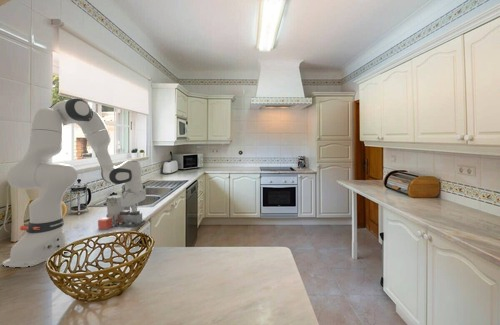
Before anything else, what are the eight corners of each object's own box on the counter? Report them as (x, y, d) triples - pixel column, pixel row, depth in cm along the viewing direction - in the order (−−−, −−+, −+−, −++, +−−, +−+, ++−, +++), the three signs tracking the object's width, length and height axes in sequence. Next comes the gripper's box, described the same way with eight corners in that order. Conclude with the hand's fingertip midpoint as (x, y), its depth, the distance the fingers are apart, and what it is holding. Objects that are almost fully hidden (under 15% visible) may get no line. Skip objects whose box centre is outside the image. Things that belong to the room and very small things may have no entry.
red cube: (106, 229, 142) (106, 219, 141) (98, 228, 142) (97, 219, 142) (112, 226, 147) (112, 217, 146) (104, 225, 147) (103, 217, 147)
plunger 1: (126, 222, 149) (126, 211, 149) (120, 221, 150) (119, 211, 149) (130, 220, 153) (130, 210, 153) (124, 219, 154) (123, 209, 153)
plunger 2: (136, 222, 149) (135, 212, 148) (129, 222, 149) (129, 211, 149) (139, 220, 153) (139, 210, 152) (133, 220, 153) (133, 210, 153)
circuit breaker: (131, 215, 167) (130, 193, 166) (118, 222, 153) (117, 198, 152) (120, 215, 168) (120, 193, 167) (106, 222, 154) (105, 197, 153)
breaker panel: (134, 227, 145) (133, 216, 144) (114, 226, 146) (113, 216, 146) (145, 220, 157) (144, 211, 156) (126, 220, 158) (126, 210, 157)
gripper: (128, 191, 139) (129, 216, 140) (147, 185, 159) (148, 206, 160) (117, 191, 139) (118, 215, 140) (137, 184, 160) (138, 206, 161)
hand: (134, 210), depth 150 cm, fingers closed, pressing on plunger 2
